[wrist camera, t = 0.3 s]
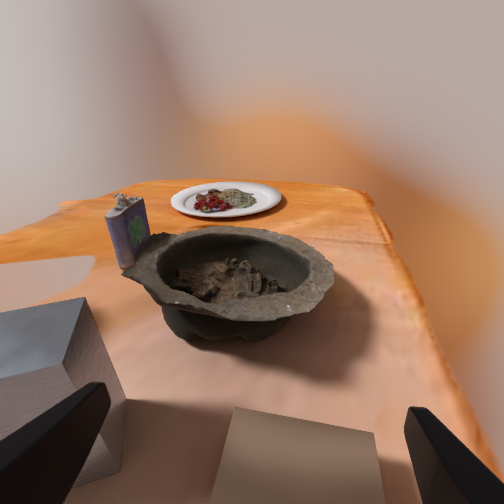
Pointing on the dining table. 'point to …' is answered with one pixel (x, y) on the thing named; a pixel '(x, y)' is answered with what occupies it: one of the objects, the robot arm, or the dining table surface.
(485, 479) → the robot arm
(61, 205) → the dining table surface
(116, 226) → the flask
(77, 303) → the slate tin
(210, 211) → the plated food
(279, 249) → the stone bowl
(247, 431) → the walnut block
